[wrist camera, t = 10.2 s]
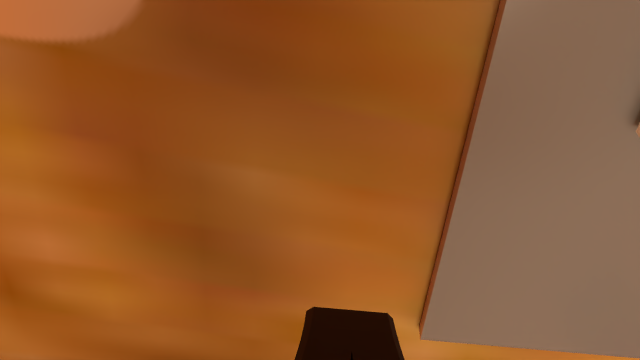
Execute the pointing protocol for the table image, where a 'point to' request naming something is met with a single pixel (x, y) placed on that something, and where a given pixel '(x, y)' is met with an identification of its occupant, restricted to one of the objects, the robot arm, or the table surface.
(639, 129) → the tile
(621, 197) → the slate board
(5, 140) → the table surface
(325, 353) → the robot arm
